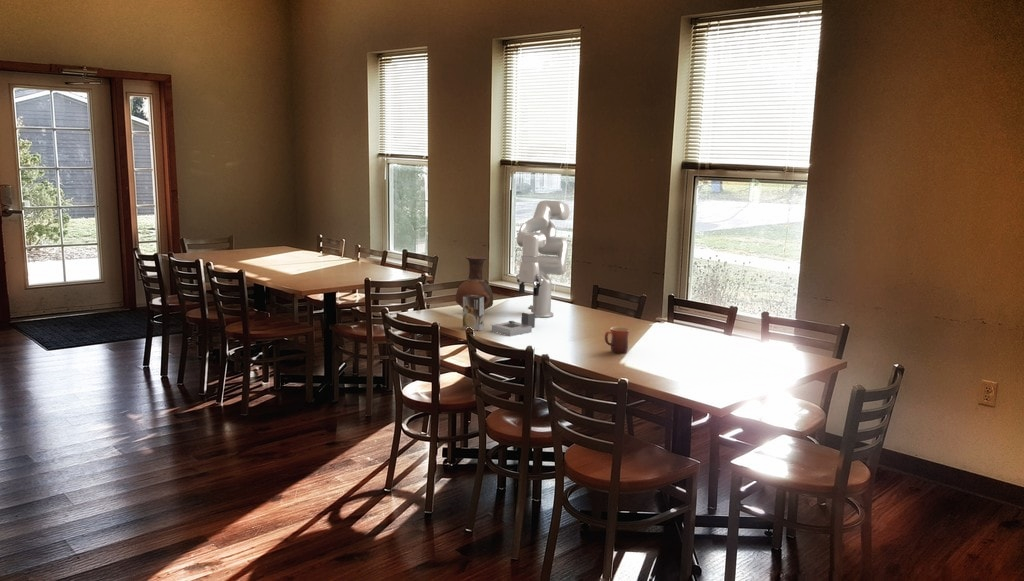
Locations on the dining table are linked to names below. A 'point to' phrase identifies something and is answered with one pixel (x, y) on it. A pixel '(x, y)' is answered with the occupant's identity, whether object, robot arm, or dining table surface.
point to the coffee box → (473, 312)
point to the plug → (528, 318)
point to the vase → (475, 283)
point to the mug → (618, 339)
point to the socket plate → (511, 328)
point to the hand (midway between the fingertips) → (528, 294)
